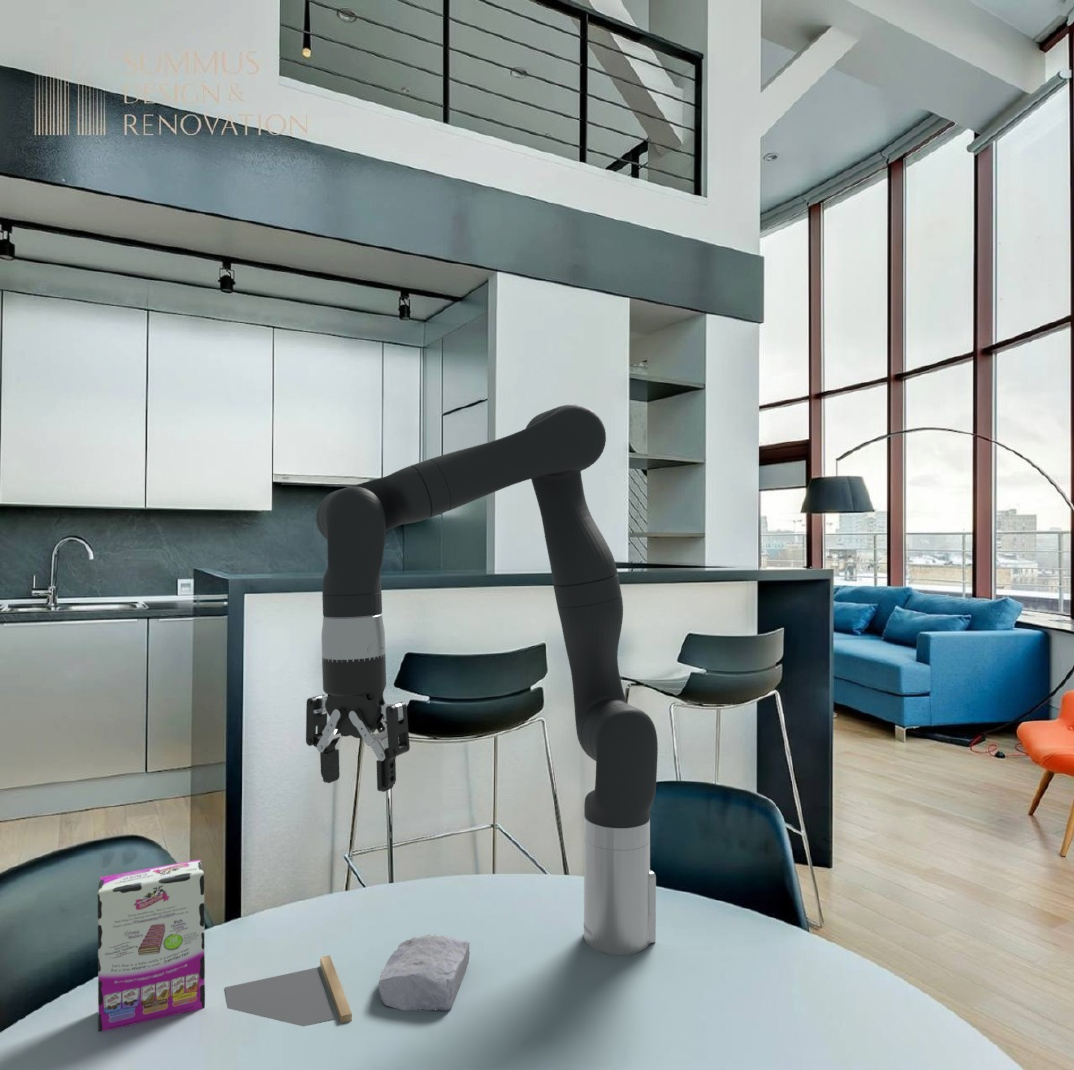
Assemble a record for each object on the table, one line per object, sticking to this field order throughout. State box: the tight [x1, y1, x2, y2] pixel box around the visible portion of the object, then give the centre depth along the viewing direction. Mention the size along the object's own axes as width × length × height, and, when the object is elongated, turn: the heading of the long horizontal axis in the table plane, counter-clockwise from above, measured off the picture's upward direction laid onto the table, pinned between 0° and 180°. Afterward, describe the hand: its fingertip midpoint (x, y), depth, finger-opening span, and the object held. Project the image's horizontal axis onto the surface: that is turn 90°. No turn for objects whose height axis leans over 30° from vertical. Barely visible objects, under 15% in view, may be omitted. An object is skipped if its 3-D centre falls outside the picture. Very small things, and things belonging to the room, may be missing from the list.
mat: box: [224, 967, 335, 1027], centre depth 94 cm, size 11×12×1 cm
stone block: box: [378, 934, 471, 1012], centre depth 99 cm, size 12×5×10 cm
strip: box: [319, 955, 353, 1024], centre depth 97 cm, size 1×14×1 cm, turn 25°
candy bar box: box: [97, 859, 206, 1032], centre depth 92 cm, size 11×5×16 cm, turn 117°
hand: (357, 785), depth 96 cm, fingers open, 8 cm apart
